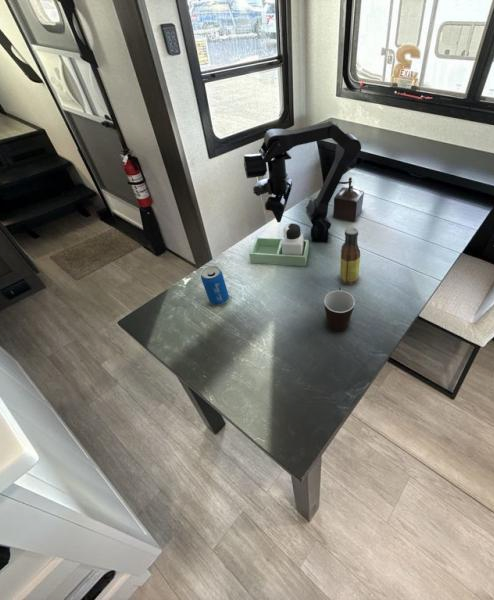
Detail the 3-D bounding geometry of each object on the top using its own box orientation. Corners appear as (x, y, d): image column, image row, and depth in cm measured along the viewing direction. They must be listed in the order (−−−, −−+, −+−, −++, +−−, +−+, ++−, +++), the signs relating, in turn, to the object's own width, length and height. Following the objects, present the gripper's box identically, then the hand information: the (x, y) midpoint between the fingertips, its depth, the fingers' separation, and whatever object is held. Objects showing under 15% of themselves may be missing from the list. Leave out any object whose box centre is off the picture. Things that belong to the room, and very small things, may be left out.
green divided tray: (257, 245, 123) (256, 236, 120) (308, 248, 121) (308, 239, 118) (251, 262, 116) (249, 253, 113) (305, 266, 114) (305, 257, 111)
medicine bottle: (303, 248, 120) (302, 221, 111) (301, 260, 115) (300, 232, 106) (285, 248, 120) (283, 220, 112) (282, 259, 116) (280, 232, 107)
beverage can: (212, 309, 100) (202, 281, 92) (207, 296, 104) (197, 269, 96) (231, 302, 102) (224, 274, 94) (225, 290, 106) (217, 262, 98)
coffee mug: (343, 339, 90) (346, 317, 83) (318, 327, 94) (318, 305, 87) (360, 313, 97) (364, 290, 90) (336, 303, 100) (337, 280, 93)
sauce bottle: (360, 276, 109) (366, 227, 95) (354, 287, 105) (360, 238, 91) (342, 271, 111) (346, 223, 97) (336, 282, 107) (339, 233, 93)
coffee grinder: (363, 209, 140) (367, 169, 127) (355, 222, 133) (359, 181, 120) (330, 203, 145) (332, 164, 132) (321, 215, 138) (322, 175, 125)
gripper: (259, 160, 110) (265, 201, 121) (246, 185, 97) (253, 228, 109) (291, 161, 109) (293, 202, 120) (281, 186, 96) (285, 230, 107)
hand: (281, 215), depth 114 cm, fingers open, 9 cm apart
